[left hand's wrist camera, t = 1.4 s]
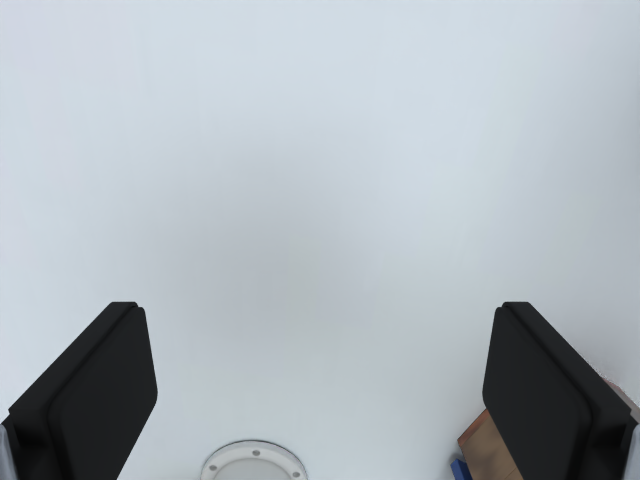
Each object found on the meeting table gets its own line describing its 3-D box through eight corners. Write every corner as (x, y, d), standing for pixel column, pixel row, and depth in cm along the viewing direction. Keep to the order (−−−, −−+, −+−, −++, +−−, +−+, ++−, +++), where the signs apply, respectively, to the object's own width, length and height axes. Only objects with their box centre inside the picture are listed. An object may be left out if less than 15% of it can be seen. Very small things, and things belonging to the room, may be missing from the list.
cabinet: (528, 475, 50) (568, 551, 42) (457, 439, 49) (485, 513, 40) (619, 387, 46) (684, 453, 38) (544, 344, 44) (596, 405, 36)
